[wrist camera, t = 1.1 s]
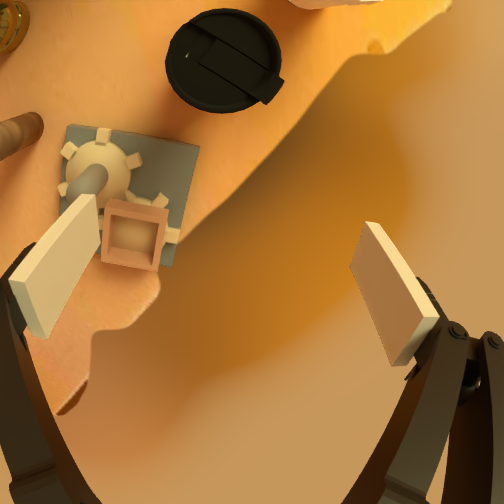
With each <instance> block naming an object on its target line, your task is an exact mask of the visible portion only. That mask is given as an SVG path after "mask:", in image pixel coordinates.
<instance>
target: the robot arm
mask: <svg viewBox="0 0 504 504" xmlns="http://www.w3.org/2000/svg"><path fill="white" fill-rule="evenodd" d="M100 244H101V241H100V234H99V226H98V217H97V208H96V197H95V194H81V195H80V196H79V197H78V198H77V199H76V200H75V201H74V202H73V203H72V204H71V205H70V206H69V208H68V209H67V210H66V211H65V212H64V213H63V214H62V215H61V216H60V217H59V218H58V219H57V221H56V222H55V223H54V224H53V225H52V226H51V227H50V228H49V230H48V231H47V232H46V233H45V234H44V235H43V236H42V238H41V239H40V240H39V241H38V242H37V243H35V242H33V243H32V244H30V245H29V246H27V247H26V248H24V250H23V251H22V252H21V253H20V254H19V256H18V258H16V259H15V261H14V262H13V264H11V266H10V267H9V268H8V269H7V271H6V272H5V273H4V274H3V276H2V277H1V278H0V445H1V448H2V451H3V454H4V457H5V460H6V463H7V465H8V468H9V470H10V473H11V476H12V482H11V483H10V484H9V491H10V494H11V497H12V499H13V502H14V504H102V503H101V501H100V500H99V499H98V498H97V497H96V495H95V494H94V493H93V492H92V490H91V489H90V487H89V486H88V484H87V483H86V481H85V479H84V477H83V476H82V474H81V472H80V470H79V468H78V467H77V465H76V463H75V461H74V459H73V457H72V455H71V454H70V451H69V449H68V448H67V445H66V444H65V441H64V439H63V437H62V435H61V433H60V431H59V429H58V427H57V424H56V422H55V420H54V417H53V415H52V413H51V410H50V408H49V405H48V403H47V400H46V398H45V395H44V393H43V390H42V387H41V385H40V382H39V379H38V376H37V373H36V370H35V367H34V364H33V361H32V358H31V355H30V351H29V348H28V345H27V341H26V338H25V336H24V334H23V331H24V330H25V328H26V326H27V327H28V329H29V331H30V333H31V335H32V336H34V337H38V338H43V339H48V337H49V335H50V333H51V331H52V329H53V327H54V325H55V323H56V321H57V319H58V317H59V315H60V313H61V312H62V310H63V308H64V306H65V304H66V302H67V300H68V298H69V297H70V295H71V293H72V291H73V289H74V288H75V286H76V284H77V282H78V280H79V279H80V277H81V275H82V274H83V272H84V270H85V268H86V267H87V265H88V263H89V262H90V260H91V258H92V257H93V255H94V253H95V252H96V250H97V249H98V247H99V245H100ZM350 268H351V271H352V273H353V275H354V277H355V280H356V281H357V284H358V286H359V289H360V291H361V293H362V295H363V298H364V300H365V302H366V305H367V307H368V309H369V312H370V314H371V317H372V319H373V321H374V324H375V326H376V329H377V331H378V334H379V336H380V339H381V341H382V344H383V346H384V349H385V351H386V354H387V357H388V359H389V362H390V364H391V366H405V365H407V364H408V363H409V361H410V360H411V359H412V357H413V356H414V357H415V359H416V361H417V363H416V365H415V366H414V367H413V369H412V370H411V371H410V373H409V374H408V375H407V376H406V378H405V379H404V380H407V379H408V378H409V379H408V381H407V384H406V386H405V388H404V390H403V393H402V395H401V397H400V399H399V402H398V404H397V406H396V408H395V410H394V412H393V415H392V417H391V419H390V421H389V423H388V425H387V427H386V429H385V431H384V433H383V435H382V436H381V438H380V440H379V442H378V444H377V446H376V448H375V449H374V452H373V453H372V455H371V457H370V458H369V460H368V462H367V464H366V465H365V467H364V469H363V471H362V472H361V474H360V475H359V477H358V479H357V480H356V482H355V484H354V485H353V487H352V488H351V490H350V492H349V493H348V494H347V496H346V497H345V499H344V500H343V502H342V503H341V504H429V502H427V501H426V494H427V492H428V489H429V487H430V484H431V482H432V479H433V477H434V474H435V472H436V469H437V467H438V464H439V461H440V458H441V456H442V453H443V450H444V446H445V443H446V441H447V437H448V434H449V446H448V457H447V466H446V475H445V481H444V488H443V494H442V500H441V504H504V342H503V341H502V339H501V337H500V336H498V335H497V334H495V333H493V332H490V331H487V332H485V333H484V334H483V336H482V337H481V338H480V339H476V338H472V337H469V334H468V332H467V331H466V330H465V328H464V327H463V326H461V325H460V324H459V323H456V322H454V321H449V320H448V318H447V317H446V315H445V313H444V312H443V310H442V308H441V307H440V305H439V304H438V302H437V301H436V299H435V297H434V296H433V294H431V291H430V289H429V288H428V286H427V285H426V284H425V283H424V282H423V281H422V280H421V279H420V278H419V277H415V276H414V274H413V273H412V271H411V270H410V268H409V267H408V265H407V263H406V262H405V260H404V259H403V258H402V256H401V255H400V253H399V252H398V250H397V249H396V247H395V246H394V244H393V243H392V241H391V240H390V239H389V237H388V236H387V235H386V233H385V232H384V230H383V229H382V227H381V226H380V225H379V224H378V223H373V222H365V224H364V227H363V230H362V233H361V236H360V239H359V242H358V245H357V247H356V250H355V253H354V256H353V259H352V261H351V264H350ZM480 381H481V382H480ZM479 382H480V386H479V385H478V383H479Z"/></svg>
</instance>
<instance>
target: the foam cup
mask: <svg viewBox="0 0 504 504" xmlns="http://www.w3.org/2000/svg"><path fill="white" fill-rule="evenodd" d="M288 1H290V2H291V3H292V4H294V5H295V6H297V7H300V8H304V9H307V10H312V9H320V8H327V7H334V6H342V5H349V6H351V5H370V4H373V3H377V2H380V1H383V0H288Z"/></svg>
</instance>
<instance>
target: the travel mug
mask: <svg viewBox="0 0 504 504" xmlns="http://www.w3.org/2000/svg"><path fill="white" fill-rule="evenodd" d="M281 62H282V59H281V50H280V46H279V43H278V40H277V39H276V37H275V35H274V33H273V32H272V30H271V29H270V28H269V27H268V26H267V25H266V24H265V23H264V22H263V21H261V20H260V19H259V18H257V17H256V16H254V15H252V14H250V13H247V12H244V11H241V10H237V9H228V8H221V9H212V10H209V11H205V12H202V13H200V14H199V15H197V16H196V17H194V18H193V19H191V20H190V21H189V22H187V23H185V24H183V25H182V26H181V27H180V28H179V30H178V31H177V32H176V33H175V35H174V36H173V38H172V40H171V41H170V45H169V49H168V52H167V56H166V60H165V68H166V74H167V77H168V80H169V83H170V84H171V86H172V88H173V89H174V91H175V92H176V93H177V94H178V95H179V97H180V98H181V99H183V100H184V101H185V102H187V103H188V104H189V105H191V106H193V107H195V108H197V109H199V110H203V111H206V112H210V113H221V114H223V113H234V112H237V111H241V110H245V109H247V108H249V107H251V106H253V105H254V104H256V103H258V102H259V101H261V102H262V103H263V104H265V105H267V104H268V103H269V102H270V101H271V100H272V99H273V98H274V96H275V95H276V94H277V93H278V91H279V90H280V88H281V87H282V85H283V83H284V82H285V81H284V80H283V79H282V78H280V77H279V73H280V69H281Z"/></svg>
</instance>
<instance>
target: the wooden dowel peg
mask: <svg viewBox="0 0 504 504" xmlns="http://www.w3.org/2000/svg"><path fill="white" fill-rule="evenodd" d="M43 129H44V124H43V120H42V118H41V117H40V115H39V114H37V113H35V112H29V113H26V114H23V115H20V116H17V117H14V118H11V119H8V120H5V121H3V122H0V161H1V160H3V159H5V158H6V157H8V156H10V155H12V154H13V153H15V152H17V151H19V150H21V149H23V148H24V147H26V146H28V145H30V144H32V143H34V142H36V141H37V140H38V139H39V138H40V137H41V135H42V133H43Z"/></svg>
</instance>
